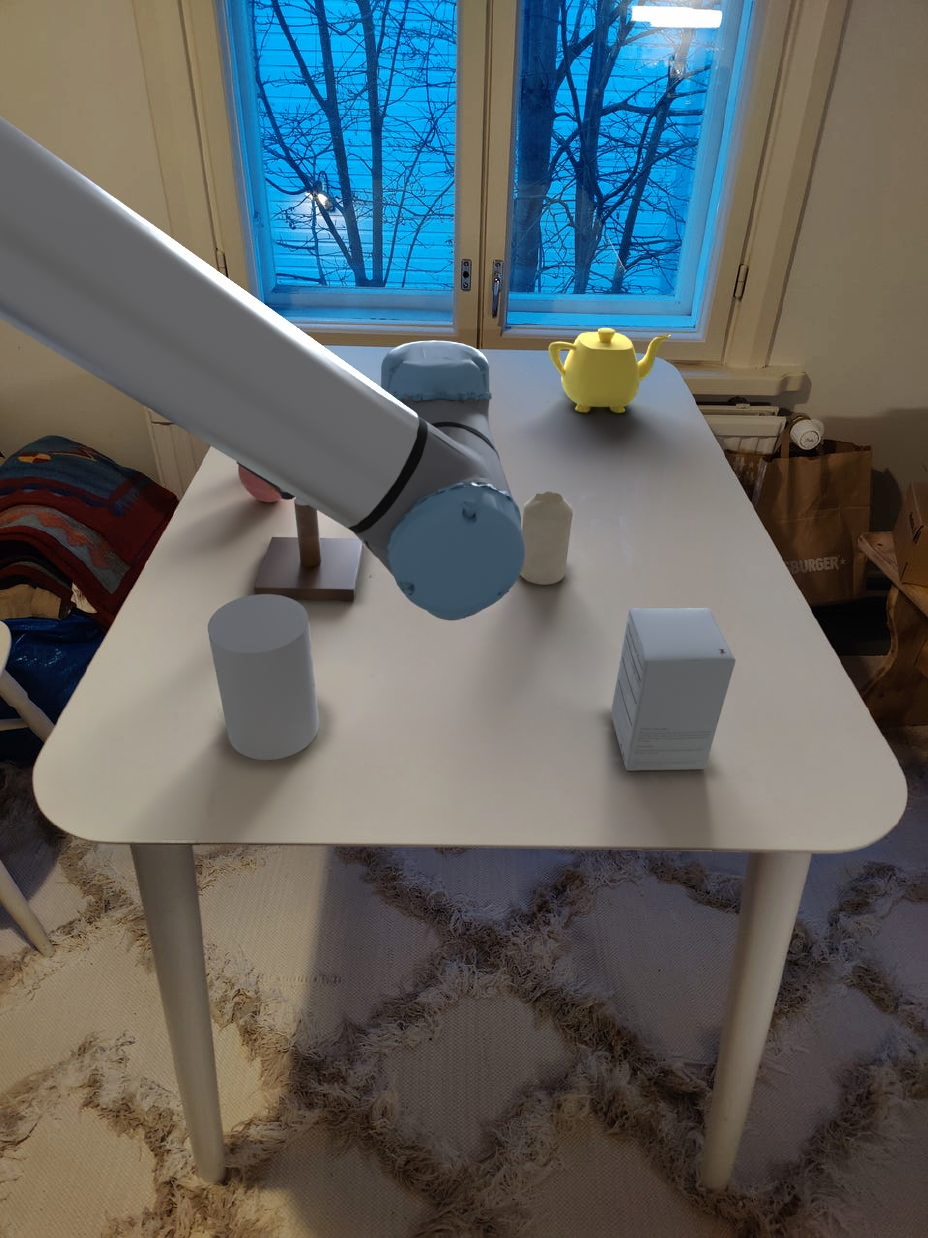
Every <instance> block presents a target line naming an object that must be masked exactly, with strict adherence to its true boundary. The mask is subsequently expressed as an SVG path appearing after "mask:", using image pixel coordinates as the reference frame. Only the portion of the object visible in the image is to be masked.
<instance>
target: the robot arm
mask: <svg viewBox="0 0 928 1238" xmlns="http://www.w3.org/2000/svg"><path fill="white" fill-rule="evenodd" d="M0 320H2V321H3V322H5V323H7V324H8V325H9V326H12V327H13V328H15V329H16V330H18V331H20V332H21V333H23V334H25V335H27V336H28V337H30V338H32V339H33V340H35V341H36V342H38V343H40V344H41V345H43V346H45V347H46V348H48V349H49V350H51V351H52V352H54V353H56V354H58V355H60V356H61V357H63V358H65V359H66V360H67V361H69V362H71V363H72V364H74V365H76V366H77V367H80V368H81V369H83V371H86V372H88V373H89V374H91V375H93V376H94V377H96V378H98V379H99V380H101V381H103V382H104V383H106V384H108V386H111V387H113V388H114V389H116V390H117V391H119V392H121V393H123V394H124V395H126V396H127V397H129V398H130V399H132V400H134V401H136V402H137V403H139V404H140V405H142V406H144V407H146V408H147V409H149V410H151V411H153V412H154V413H155V414H157V415H159V416H160V417H162V418H164V419H166V420H167V421H169V422H170V423H172V424H174V426H175V425H176V426H177V427H179V428H180V429H182V430H184V431H185V432H187V433H189V434H190V435H191V436H194V437H196V438H197V439H199V440H200V441H202V442H204V443H205V444H207V445H208V446H210V447H212V448H214V449H215V450H217V451H219V452H220V453H222V454H224V455H225V456H226V457H229V458H230V459H231V460H234V461H235V463H236V465H237V466H238V465H240V466H241V467H243V468H244V469H246V470H247V471H249V472H251V473H252V474H254V475H255V476H257V477H258V478H260V479H262V480H263V481H265V482H266V483H268V484H269V485H271V486H272V487H274V488H276V489H277V490H278V492H279V494H280V496H281V498H282V499H281V500H284V501H289V500H290V501H291V500H294V499H295V498H298V499H300V500H301V501H303V502H305V503H306V504H308V505H310V506H311V507H313V508H315V509H316V510H317V512H319V513H321V514H323V515H324V516H327V517H328V518H330V519H331V520H333V521H335V522H336V523H337V524H339V525H341V526H342V527H344V528H346V529H347V530H349V531H351V532H353V534H354V535H355V536H356V537H357V539H360V540H361V541H362V542H363V545H364V546H365V547H366V548H367V549H368V550H369V551H370V552H371V553H372V555H373V556H374V557H375V558H376V559H378V560H379V561H380V563H381V564H382V565H383V566H384V568H385V569H386V570H387V571H388V572H389V574H391V575H392V576H393V578H394V581H395V583H396V585H397V587H398V588H399V590H400V591H401V592H402V593H403V595H405V597H406V598H407V599H408V600H409V601H410V602H411V603H412V604H414V605H415V606H417V607H418V608H420V609H422V610H424V611H427V612H428V613H429V614H430V615H432V616H433V617H435V618H437V619H439V620H444V621H459V620H463V619H464V620H465V619H466V618H468V617H473V616H475V615H476V614H478V613H480V612H481V611H483V610H485V609H487V608H489V607H491V606H492V605H494V604H496V603H497V602H498V601H500V600H501V599H502V598H503V597H504V596H506V595H507V594H508V593H510V590H511V589H512V588H513V587H514V586H515V584H516V582H517V581H518V579H519V577H520V576H521V575H520V573H521V570H522V566H523V562H524V557H525V546H524V540H523V535H522V516H521V511H520V508H519V505H518V503H517V502H516V501H515V500H514V497H513V494H512V492H511V489H510V487H509V483H508V480H507V477H506V474H505V472H504V469H503V466H502V463H501V459H500V456H499V452H498V449H497V446H496V442H495V440H494V436H493V434H492V431H491V427H490V421H489V419H490V417H489V415H490V414H489V413H490V412H489V411H490V402H491V400H492V399H493V398H492V396H493V395H492V392H491V389H490V364H489V361H488V359H487V358H486V356H485V355H484V353H482V352H481V351H479V350H478V349H476V348H475V347H473V346H470V345H467V344H464V343H459V342H456V341H455V342H453V341H447V340H420V341H419V340H418V341H413V342H409V343H408V342H407V343H403V344H401V345H399V346H396V347H394V348H393V349H391V350H389V351H388V352H387V354H386V355H385V356H384V357H383V359H382V362H381V367H380V386H379V385H378V384H377V383H375V382H373V380H370V379H369V378H368V377H366V376H365V375H363V374H362V373H361V372H359V371H358V370H356V369H355V368H354V367H353V366H351V365H349V364H348V363H347V362H345V361H344V360H343V359H341V358H340V357H338V356H337V355H335V354H334V353H333V352H331V351H330V350H329V349H327V348H325V347H324V346H323V345H322V344H320V343H319V342H317V341H316V340H314V339H313V338H312V337H311V336H309V335H308V334H306V333H305V332H303V331H302V330H300V328H297V327H296V326H295V325H294V324H292V323H291V322H289V321H288V320H286V319H285V318H283V316H281V315H279V314H278V313H277V312H275V311H274V310H273V309H272V308H270V307H268V306H267V305H265V304H264V303H263V302H261V301H260V300H258V299H257V298H256V297H254V296H253V295H251V294H250V293H249V292H247V291H246V290H244V289H243V288H241V287H240V286H239V285H237V284H236V283H234V282H233V281H232V280H230V279H229V278H228V277H226V276H225V275H223V274H222V273H220V272H219V271H217V270H216V269H215V268H214V267H212V266H211V265H209V264H208V263H206V261H204V260H202V259H201V258H199V257H198V256H197V255H195V254H194V253H193V252H191V251H190V250H189V249H187V248H185V247H184V246H182V245H181V244H180V243H179V242H177V241H176V240H175V239H173V238H171V237H170V236H169V235H167V234H166V233H165V232H163V231H162V230H161V229H159V228H157V226H155V225H154V224H152V223H150V222H149V221H148V220H146V219H145V218H144V217H143V216H141V215H139V214H138V213H137V212H135V211H134V210H132V209H131V208H130V207H128V206H127V205H125V204H124V203H123V202H121V201H120V200H119V199H117V198H115V197H114V196H113V195H111V194H110V193H108V192H107V191H106V190H104V189H103V188H102V187H101V186H99V185H97V184H96V183H94V182H93V181H92V180H90V179H89V178H87V176H85V175H84V174H82V173H81V172H79V171H77V169H75V168H73V166H71V165H70V164H68V163H66V162H65V161H64V160H62V159H61V158H60V157H58V156H57V155H56V154H54V153H53V152H51V151H50V150H48V149H47V148H45V147H44V146H42V144H40V143H38V141H36V140H35V139H33V138H32V137H30V136H29V135H27V134H26V133H25V132H23V131H22V130H20V129H19V128H17V126H15V125H13V124H12V123H11V122H9V121H8V120H6V119H5V118H4V117H2V116H1V115H0Z"/></svg>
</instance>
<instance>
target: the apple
mask: <svg viewBox="0 0 928 1238" xmlns="http://www.w3.org/2000/svg"><path fill="white" fill-rule="evenodd" d="M237 469H238V470H237V471H238V476H239V480H240V482H241V484H242V485H243V487H244V488H245V490H246V491H247V493H249V494H250V495H251V496H252V497H253V498H255V499H256V500H258V501H260V502H265V503H274V502H277V501H280V500H283V499H282V498H281V496H280V494H279V493H278V492H275V491H274V489H272V490H271V489H270V488H269V487H268V485H267V484H266V483H265V481H263V480H262V479H260V478H258V477H257V476H255V475H254V474H252V473H251V472H249V471H247V470H246V469H244V468H243V467H241V466H240V465H238V464H237Z"/></svg>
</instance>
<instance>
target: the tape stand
mask: <svg viewBox="0 0 928 1238" xmlns="http://www.w3.org/2000/svg"><path fill="white" fill-rule="evenodd" d="M293 505H294V514H295V523H296V532H297V536H271V539H270V541H269V544H268V547H267V550H266V553H265V555H264V558H263V561H262V564H261V566H260V570H259V573H258V575H257V577H256V578H257V579H256V581H255V584H254V586H253V591H254V595H259V594H273V595H280V596H285V597H288V598H291V599H293V600H314V601H317V600H318V601H319V600H320V601H323V600H324V601H355V599H356V594H357V588H358V582H359V577H360V571H361V563H362V559H363V554H364V543H363V542H362V541H361V540H360V539H359V538H351V537H350V538H349V537H347V538H346V537H320V527H319V517H318V510H316V509H315V508H313V507H311V506H310V505H308V504H306V503H305V502H303V501H301V500H300V499H298V498H296V497H294V499H293Z"/></svg>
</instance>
